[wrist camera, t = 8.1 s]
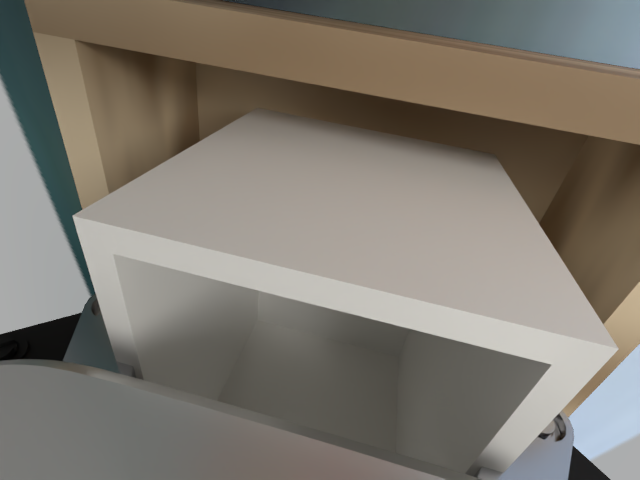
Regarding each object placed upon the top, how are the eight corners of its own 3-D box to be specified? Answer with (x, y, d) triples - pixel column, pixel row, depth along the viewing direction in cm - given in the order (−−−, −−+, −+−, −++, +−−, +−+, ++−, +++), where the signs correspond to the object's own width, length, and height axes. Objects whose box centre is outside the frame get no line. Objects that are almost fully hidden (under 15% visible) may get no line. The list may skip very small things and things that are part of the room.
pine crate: (179, -7, 12) (17, -26, 7) (645, 70, 10) (859, 116, 5) (201, 294, 20) (131, 386, 15) (470, 364, 18) (494, 493, 13)
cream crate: (257, 107, 11) (72, 216, 5) (494, 154, 10) (618, 348, 4) (250, 317, 15) (156, 494, 10) (407, 358, 15) (407, 576, 9)
